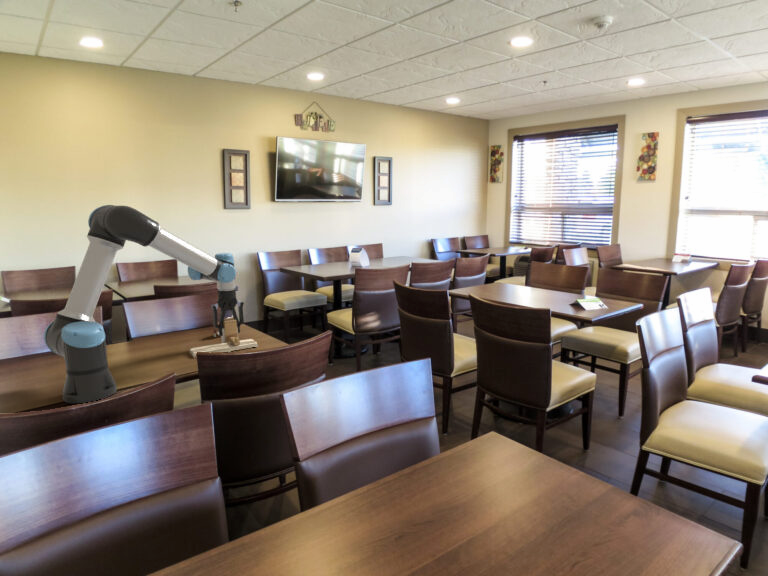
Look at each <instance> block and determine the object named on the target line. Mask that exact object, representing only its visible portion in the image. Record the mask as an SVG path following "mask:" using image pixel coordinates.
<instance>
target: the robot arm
mask: <svg viewBox="0 0 768 576" xmlns="http://www.w3.org/2000/svg"><path fill="white" fill-rule="evenodd" d="M88 227H89V229H88V232H87V235H86V238H87V239H88V242H89V244H88V247H87V250H86V251H85V254H84V257H83V260H82V262H81V265H80V267H79V270H78V272H77V275H76V277H75V281H74V283H73V286H72V288H71V291H70V294H69V296H68V299H67V302H66V303H65V304H66V305H65V307H64V308H63V309H61V310H59V311H57V313H56V315H55V318H54V320H53V321H52V322H51V323H49V324H48V325H47V327H45V330H44V333H43V341H44V343H45V345H46V347H47V348H48V349H49V350H50V351H51V352H52V353H53V354H56V355H57V356H61V357H62V358H64V362H65V370H66V371H65V372H66V378H65V382H64V384H63V390H62V400H63V401H64V402H65V403H68V404H87V403H86V402H88V403H92V402H91V401H94V402H97V401H96V400H98V401H100V400H99V399H101V400H103V399H106V398H109V397H111V396H113V395H115V393H117V391H118V390H117V383H116V380H115V378H114V377H113V375H112V374H111V371H110V369H109V363H108V361H109V360H108V354H107V343H106V333H105V330H104V327H103V325H102V324H100V323H99V322H96V320H95V318H94V313H95V311H96V307H97V305H98V302H99V299H100V296H101V295H102V291H103V289H104V286H105V284H106V281H107V278H108V276H109V273H110V270H111V268H112V264H113V262H114V260H115V257H116V254H117V252H118V251H119V250H122V249H124V247H125V243H126V241H128V242H131V243H132V242H133V243H136V244H138V245H140V246H142V247H146V248H147V247H150V248H152V249H154V250H156V251H158V252H160V253H162V254H164V255H165V256H168V257H169V258H172V259H174V260H175V261H178V262H179V263H181V264H182V265H185V266H187V275H188V276H189V278H190V279H191V280H192V281H200V280H201V281H202V280H206V281H207V280H208V281H211V282H216V289H217V291H216V292H217V302H216V303H215V304H211V309H212V321H213V324H214V327H215V328H218V329H219V335H218V336H220V337H221V343H225V332H224V328H223V322H224V319H225V316H226V312H228V311H230V312H231V315H232V316H233V318H234V319H235V320H237V335H238V336H239V334H240V332H241V326H242V325H244V323H245V322H244V321H245V320H244V319H245V318H244V309H243V308H244V304H245V303H244V301H241V300H238V299H237V291H236V276H237V269H236V268H235V260H234V259H235V258H234V256H233V253H229V252H222V253H221V252H220V253H216V254H215V255H214V256H212V255H210V253H209V254H208V253H206V252H205V251H203V250H201V249H199V248H198V247H197V246H194V245H193V244H191V243H189V242H188V241H185V240H184V239H182V238H180V237H178V236H176V235H175V234H173V233H172V232H170V231H168V230H166V229H165V228H162V227H161V225H160V223H159V222H158V221H156V220H154V219H153V218H151V217H150V216H147V215H146V214H145V213H143V212H141V211H139V210H138V209H135V208H133V207H131V206H128V205H113V204H107V205H102V206H99V207H96V208H95V209H94V210H93V211H92V212H91V213H90V214H89V217H88ZM237 306H238V309H237V310H238V315H237V312H236V309H235V307H237ZM218 307H219V309H220V315H219V320H218ZM218 322H219V324H218Z"/></svg>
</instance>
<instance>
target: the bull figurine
mask: <svg viewBox="0 0 768 576" xmlns="http://www.w3.org/2000/svg"><path fill="white" fill-rule="evenodd" d="M227 318H233V315H232V316H230V317H229V316H228V317H227ZM218 324H219V321H218ZM212 328H213V331H212V332H213V337H214V338H217V335H218V336H220V335H219V329H218V328H215V327H214V323H213V324H212ZM216 333H217V335H216Z"/></svg>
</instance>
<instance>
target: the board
mask: <svg viewBox="0 0 768 576" xmlns="http://www.w3.org/2000/svg"><path fill="white" fill-rule="evenodd" d="M238 340H239V339H238ZM239 341H240V345H234V344H233V343H232V342H227V343H223V342H220V343H216V344H215V343H213V344H210V345H209V344H208V345H203V346H197V347H191V348H189V353H190V355H191V356H192V357H193V358H194V359H197V358H196V353H197V352H209V353H211V352H228V353H232V352H231V351H233V350H239V349H245V348H251V347H257V348H258V347H259V346H258V345H259V344H258V342H257V341H255V340H254V339H253V338H247V339H240V340H239ZM251 349H252V348H251Z"/></svg>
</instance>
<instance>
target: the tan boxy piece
mask: <svg viewBox="0 0 768 576" xmlns="http://www.w3.org/2000/svg"><path fill="white" fill-rule="evenodd" d="M223 328H224V332H225V343H227V342H232V343H233V344H234V345H240V341H239V334H238V335H237V320H235V319H234V318H228V317H226V318H224V322H223Z"/></svg>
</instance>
